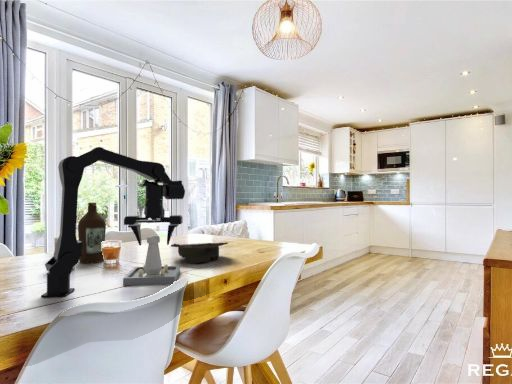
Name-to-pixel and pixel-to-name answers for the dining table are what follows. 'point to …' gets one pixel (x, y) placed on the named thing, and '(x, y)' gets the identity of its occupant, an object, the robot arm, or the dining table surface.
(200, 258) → the stone bowl
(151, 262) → the salt shaker
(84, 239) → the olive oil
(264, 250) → the dining table surface
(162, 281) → the pin tray
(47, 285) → the robot arm
